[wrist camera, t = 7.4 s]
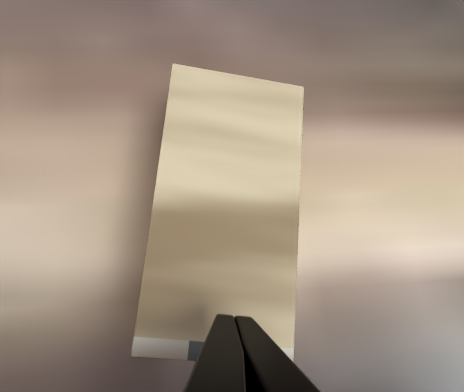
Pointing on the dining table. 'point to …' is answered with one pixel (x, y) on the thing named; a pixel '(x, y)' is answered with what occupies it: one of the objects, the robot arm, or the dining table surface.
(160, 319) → the maple block
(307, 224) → the dining table surface
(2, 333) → the dining table surface
